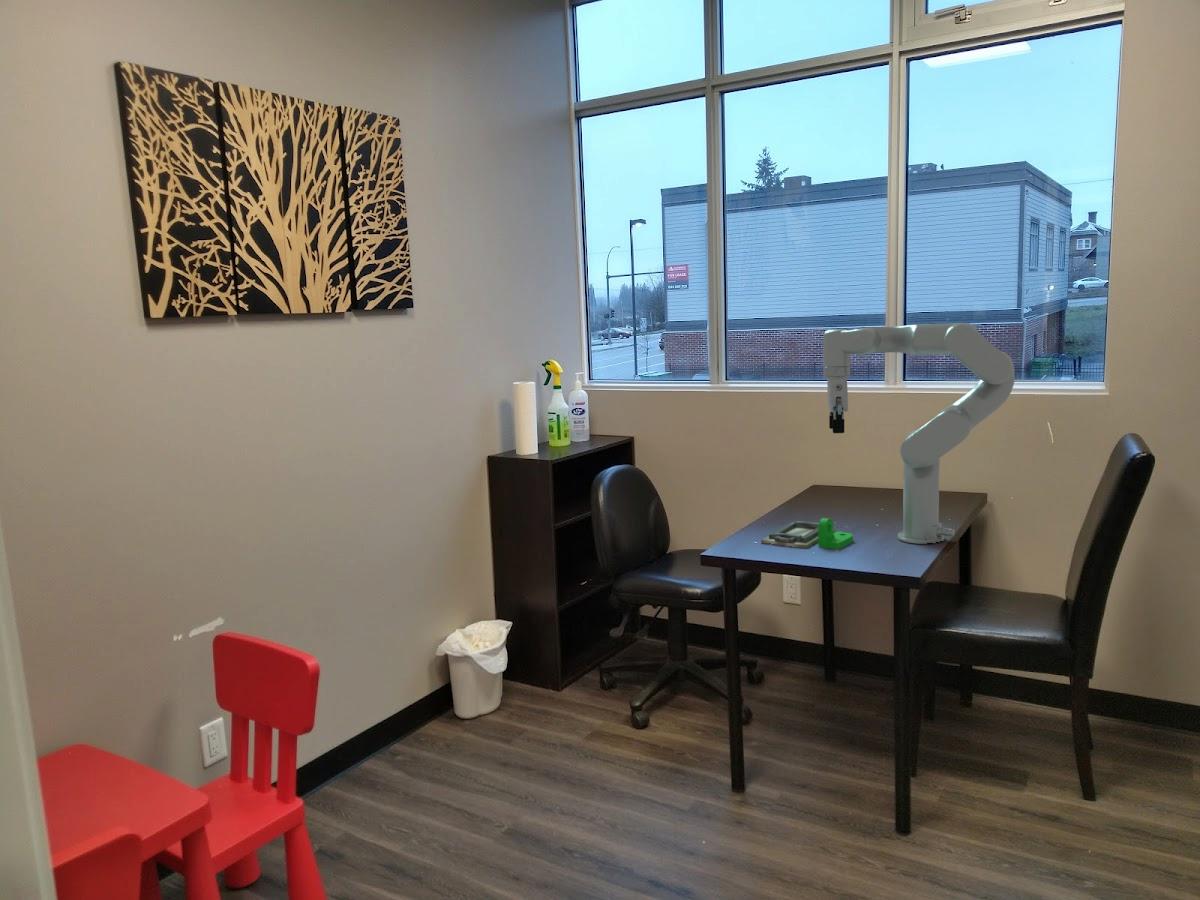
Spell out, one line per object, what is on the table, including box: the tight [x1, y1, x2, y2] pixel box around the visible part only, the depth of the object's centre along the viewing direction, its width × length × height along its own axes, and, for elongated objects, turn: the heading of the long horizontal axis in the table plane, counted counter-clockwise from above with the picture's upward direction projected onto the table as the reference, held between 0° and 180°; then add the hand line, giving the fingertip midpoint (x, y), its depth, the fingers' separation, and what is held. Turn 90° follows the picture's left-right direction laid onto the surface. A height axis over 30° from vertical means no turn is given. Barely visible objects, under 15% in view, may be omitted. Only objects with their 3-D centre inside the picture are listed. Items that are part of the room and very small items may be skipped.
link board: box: [760, 520, 836, 550], centre depth 256 cm, size 14×22×3 cm, turn 144°
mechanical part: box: [817, 517, 854, 550], centre depth 246 cm, size 12×6×8 cm, turn 140°
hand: (836, 430), depth 252 cm, fingers open, 9 cm apart
